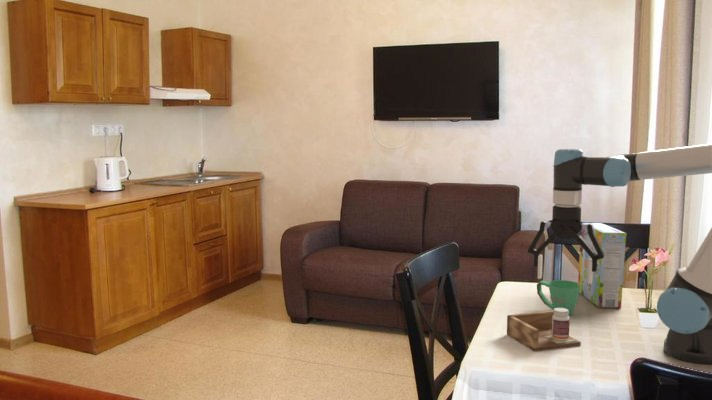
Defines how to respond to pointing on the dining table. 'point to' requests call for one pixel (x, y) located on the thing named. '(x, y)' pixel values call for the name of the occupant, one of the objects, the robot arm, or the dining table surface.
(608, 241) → the snack box
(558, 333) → the pill bottle
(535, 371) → the dining table surface
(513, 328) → the wooden corner tray
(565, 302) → the mug
